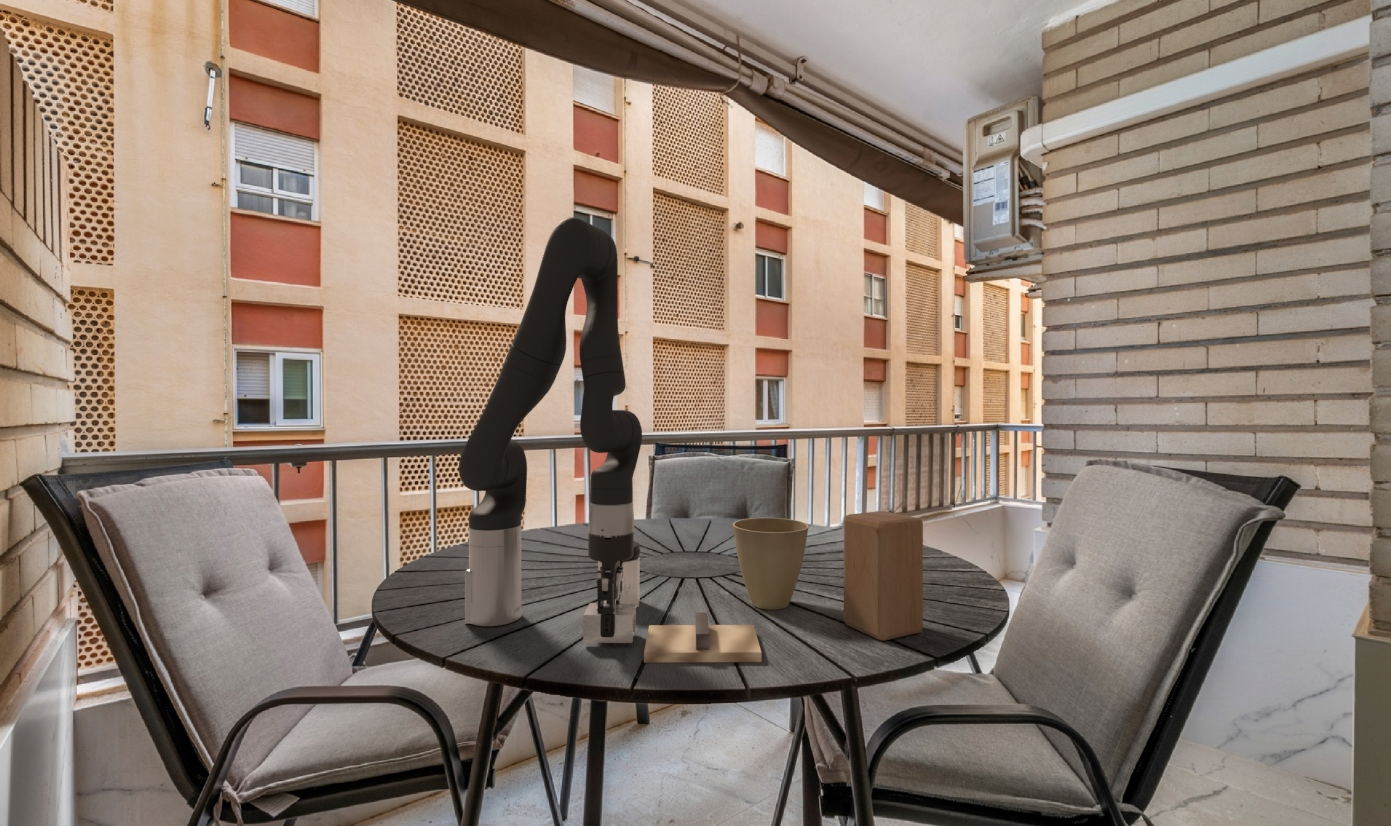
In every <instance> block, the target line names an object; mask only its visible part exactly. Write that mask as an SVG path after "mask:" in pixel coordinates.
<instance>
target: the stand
mask: <svg viewBox="0 0 1391 826" xmlns="http://www.w3.org/2000/svg"><path fill="white" fill-rule="evenodd" d="M643 663H645V664H646V663H647V664H648V663H649V664H651V663H762V649H761V647H760V643H759V639H758V636H757V632H756V628H755V625H754V624H709V618H708V612H695V624H677V625H676V624H666V625H665V624H664V625H663V624H662V625H661V624H659V625H658V624H655V625H654V624H653V625H652V624H651V625H650V624H649V625H648V631H647V635H646V639H645V645H644V650H643Z"/></svg>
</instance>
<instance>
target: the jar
mask: <svg viewBox="0 0 1391 826" xmlns="http://www.w3.org/2000/svg"><path fill="white" fill-rule="evenodd" d="M640 545H641V544H640V543H639V542H637V541H635V540H634V550H633V556H632V557H631V558H630V559H628V560H625V561H623V567H624V574H623V591H622V593H621V599H620V603H622V604H636V609H638V608H639V606H640V601H641V600H640V596H641V595H640V584H641V583H640V577H641V576H640V570H641V569H640V557H641V555H640V554H641V546H640ZM597 563H598V564H597V566H598V568H597V569H598V570H597V572H598V571H600V567H601V566H602V563H601V562H600V561H598V562H597ZM604 603H606V601H604ZM637 607H638V608H637Z"/></svg>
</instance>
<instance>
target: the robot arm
mask: <svg viewBox="0 0 1391 826" xmlns="http://www.w3.org/2000/svg"><path fill="white" fill-rule="evenodd" d="M618 261H619V260H618V249H617V246H616V242H615V240H614V239H613V238H612V236H611V235H610V234H609V233H607V232H606V231H604V230H603V229H601V228H599V227H597V226H595V225H593V224H592V223H589V222H587V221H585V220H583V219H581V218H579V217H574V216H573V217H571V216H570V217H567V218H565V219H563V220H561V221H560V222H559V223H557V225H555V227H554V228H553V230H552V232H551V234H550V236H549V238H548V240H547V243H546V246H545V248H544V252H543V255H542V259H541V262H540V265H539V269H538V273H537V275H536V276H537V277H536V279H535V282H534V286H533V289H532V292H531V294H530V297H529V301H528V303H527V305H526V308H525V310H524V313H523V316H522V319H521V321H520V324H519V327H518V329H517V331H516V334H515V336H514V338H513V340H512V341H511V344H510V347H509V349H508V352H507V354H506V356H505V359H504V362H503V365H502V368H501V370H500V373H499V375H498V377H497V379H496V382H495V385H494V387H493V389H492V392H491V393H490V396H489V399H488V401H487V403H486V405H485V407H484V409H483V411H482V414H481V416H480V418H479V419H478V421H477V423H476V425H475V426H474V428H473V430H472V432H471V434H470V436H469V437H468V439H467V440H466V443H465V445H464V447H463V448H462V451H461V454H460V458H459V461H458V475H459V478H460V481H461V482H462V484H463V485H464V487H465V488H467V489H468V490H471V491H475V492H485V493H484V496H483V498H482V500H481V501H480V503H478V505H476V506H475V507H473V509H472V510H471V511H470V512H469V515H468V568H467V569H466V570H465V572H464V624H471V625H474V626H478V627H479V626H480V627H495V626H496V627H498V626H503V625H504V626H505V625H508V624H512V623H513V622H517V621H518V620H520V619H521V617H522V607H523V606H522V516H523V513H524V511H525V507H526V501H527V480H528V465H527V464H528V461H527V456H526V453H525V450H524V448H523V447H522V445H521V444H520V443H519V442H518V441H517V440H514V439H512V438H513V436H514V434H515V432H516V430H517V428H518V427H519V425H520V424H521V423H522V421H523V420H524V419H525V418H526V417H527V415H528V416H529V413H531V412H532V410H533V409H535V408H536V406H537V405H539V403H540V402H541V401H542V400H543V399H544V398H545V396H546V395H547V394H548V393H549V392H550V390H551V388H552V387H553V385H554V383H555V381H556V378H557V376H558V374H559V371H560V369H561V367H562V364H563V362H564V359H565V356H566V351H567V350H566V349H567V325H566V312H567V306H568V302H569V299H570V297H571V294H572V291H573V289H574V287H575V284H576V282H577V280H578V279H580V280H581V283H582V285H583V286H582V287H583V290H584V293H585V299H586V300H585V302H586V312H585V319H584V323H583V327H582V329H581V330H582V331H581V335H580V339H579V353H578V354H579V362H580V366H581V367H580V368H581V369H580V370H581V376H582V382H583V393H582V400H581V401H582V403H581V411H580V420H579V421H580V422H579V423H580V424H579V427H580V428H579V431H580V436H581V439H582V441H583V443H584V445H585V446H586V448H588V449H589V450H590V451H592V452H593V453H597V454H606V453H607V454H606V458H605V460H604V462H603V464H602V465H600V466H598V467H596V468H594V469H593V470H592V472H591V474H590V489H589V491H590V494H589V495H590V496H589V497H590V503H589V509H588V511H589V512H588V525H587V526H588V527H587V528H588V531H587V535H588V539H587V540H588V544H587V545H588V546H587V547H588V552H587V553H588V554H587V555H588V559H591V560H592V561H594V562H597V561H600V562H601V563H602V566H601V567H600V571H598V570H597V574H596V575H597V576H596V587H597V588H596V589H597V591H596V592H597V596H596V597H597V598H596V599H597V603H598V609H597V612H598V614H601V631H600V635H601V637H613V636H614V634H615V612H616V609H615V606H616V604H619V603H620V599H621V593H622V591H623V574H624V567H623V561H625V560H628V559H630V558H631V557H632V556H633V550H634V541H635V540H634V538H635V537H634V536H635V533H634V529H635V526H634V525H635V524H634V523H635V519H634V517H635V515H634V507H633V497H634V495H633V494H634V493H633V479H634V478H633V477H634V474H635V471H636V467H637V463H638V459H639V455H640V450H641V447H642V441H643V431H642V426H641V421H640V420H639V418H638V416H637V415H636V414H635V413H634V412H632V411H630V410H624V409H623V410H622V409H614V408H613V404H614V397H616V396H618V395H621V394H622V393H623V392H624V391H625V389H626V387H627V386H626V385H627V384H626V376H625V375H626V374H625V369H624V368H625V367H624V362H623V357H622V351H621V349H622V348H621V343H620V334H619V333H620V332H619V313H618V312H619V310H618V307H619V306H618V302H619V301H618V294H619V293H618V279H619V278H618V277H619V276H618V273H619V272H618V269H619V267H618ZM604 601H606V603H610V606H604Z"/></svg>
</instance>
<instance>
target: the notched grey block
mask: <svg viewBox="0 0 1391 826" xmlns="http://www.w3.org/2000/svg"><path fill="white" fill-rule="evenodd" d="M604 606H610V603H604ZM597 609H598V602H597V603H596V602H590V603H588V605H587V607H586V609H585V611H584V613H583V615H582V616H583V618H582V619H583V620H582V621H583V622H582V623H583V625H582V626H583V627H582V628H583V630H582V631H583V632H582V640H583V643H584V644H586V643H589V644H590V643H594V644H597V643H600V644H601V643H602V644H603V643H604V644H607V643H609V644H610V643H611V644H617V643H618V644H633V641H634V633H636V631H637V629H636V628H637V608H636V604H622V603H619V604H616V606H615V609H616V612H615V634H614V636H613V637H601V635H600V631H601V614H598V612H597Z"/></svg>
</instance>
